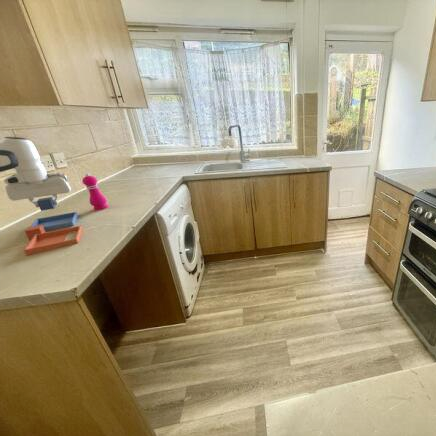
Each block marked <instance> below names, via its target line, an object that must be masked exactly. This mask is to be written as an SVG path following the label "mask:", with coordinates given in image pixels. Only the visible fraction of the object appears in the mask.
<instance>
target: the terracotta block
mask: <svg viewBox="0 0 436 436" xmlns="http://www.w3.org/2000/svg"><path fill="white" fill-rule="evenodd" d="M24 233H25V234H26V236H27V238H28V240H29V241H31V239H32V238H33V237H34V235H36V234H41V233H46V232H45V230H44V228H43V226H42V225H37V226H32V227H30V226H28V227H26V229H25V230H24Z"/></svg>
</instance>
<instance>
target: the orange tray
mask: <svg viewBox="0 0 436 436" xmlns="http://www.w3.org/2000/svg"><path fill="white" fill-rule="evenodd" d="M74 232H76V234H75V237H74V238H72V239H67V237H68V235H69V234H70V233H74ZM82 232H83V227H82V225H76V226H70V227H66V228H61V229H57V230H52V231H48V232H46V233H41V234H36V235H34V237H33V238H32V239H31V240H29V242H28V243H27V245H26V246H25V248H24V249H23V252H24V254H25V256H26V257H28V256H32V255H36V254H39V253H44V252H48V251H52V250H56V249H60V248H65V247H67V246H68V247H69V246H71V245H75V244H78V243H79V241H80V239H81V236H82ZM66 239H67V240H66Z"/></svg>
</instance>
